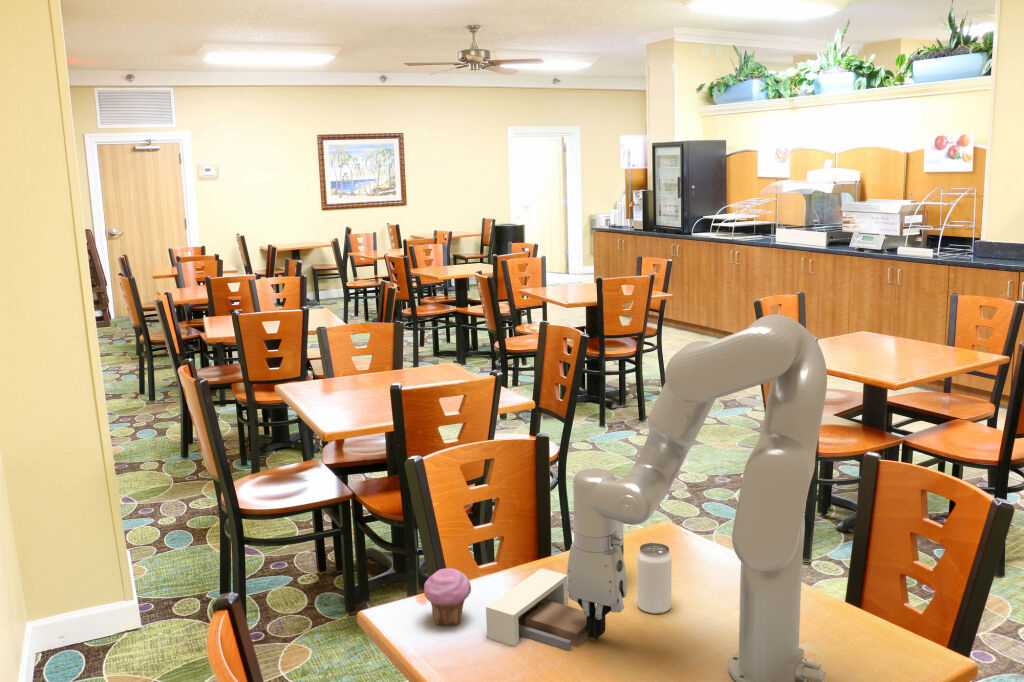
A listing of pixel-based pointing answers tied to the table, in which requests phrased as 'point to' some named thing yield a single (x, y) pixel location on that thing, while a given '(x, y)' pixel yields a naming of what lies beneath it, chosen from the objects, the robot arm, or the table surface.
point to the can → (654, 578)
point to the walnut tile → (560, 622)
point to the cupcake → (447, 595)
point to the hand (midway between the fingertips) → (596, 635)
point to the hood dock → (527, 609)
